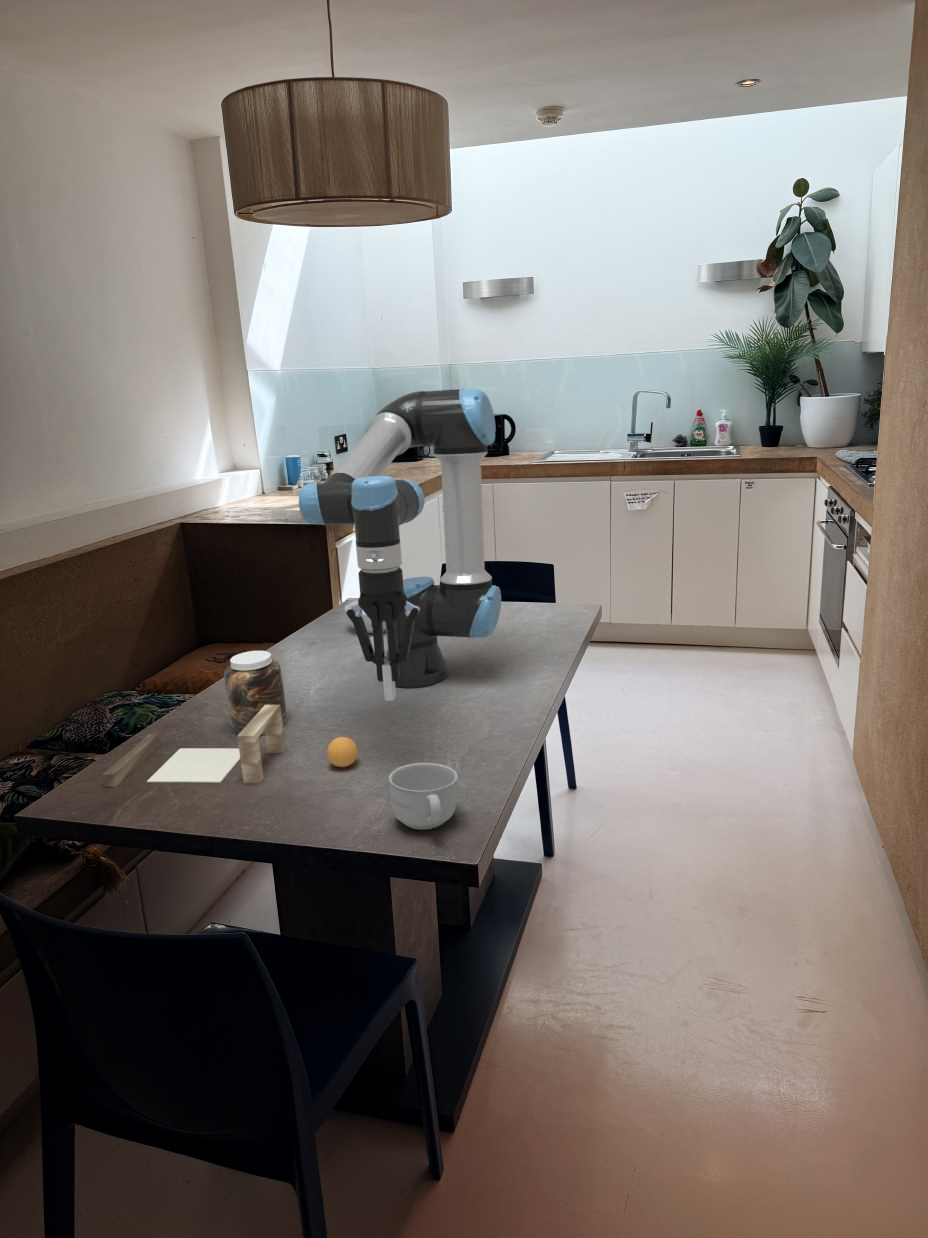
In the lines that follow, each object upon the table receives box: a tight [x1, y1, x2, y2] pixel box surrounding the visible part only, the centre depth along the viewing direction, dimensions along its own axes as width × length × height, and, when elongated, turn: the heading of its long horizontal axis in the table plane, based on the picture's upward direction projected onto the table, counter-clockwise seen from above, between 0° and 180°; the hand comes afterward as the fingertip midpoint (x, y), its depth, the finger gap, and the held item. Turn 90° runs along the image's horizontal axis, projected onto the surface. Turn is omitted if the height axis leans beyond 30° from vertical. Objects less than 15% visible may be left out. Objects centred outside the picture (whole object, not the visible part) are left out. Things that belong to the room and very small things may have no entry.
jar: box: [223, 650, 288, 736], centre depth 179 cm, size 12×12×15 cm
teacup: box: [388, 762, 459, 831], centre depth 137 cm, size 14×11×8 cm
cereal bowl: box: [344, 600, 386, 634], centre depth 243 cm, size 17×17×7 cm
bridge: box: [236, 705, 286, 784], centre depth 161 cm, size 3×14×9 cm, turn 173°
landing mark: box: [146, 747, 241, 784], centre depth 164 cm, size 14×14×1 cm
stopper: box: [102, 733, 162, 788], centre depth 165 cm, size 2×18×2 cm, turn 173°
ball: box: [326, 736, 358, 768], centre depth 160 cm, size 6×6×6 cm
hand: (390, 697), depth 155 cm, fingers closed
